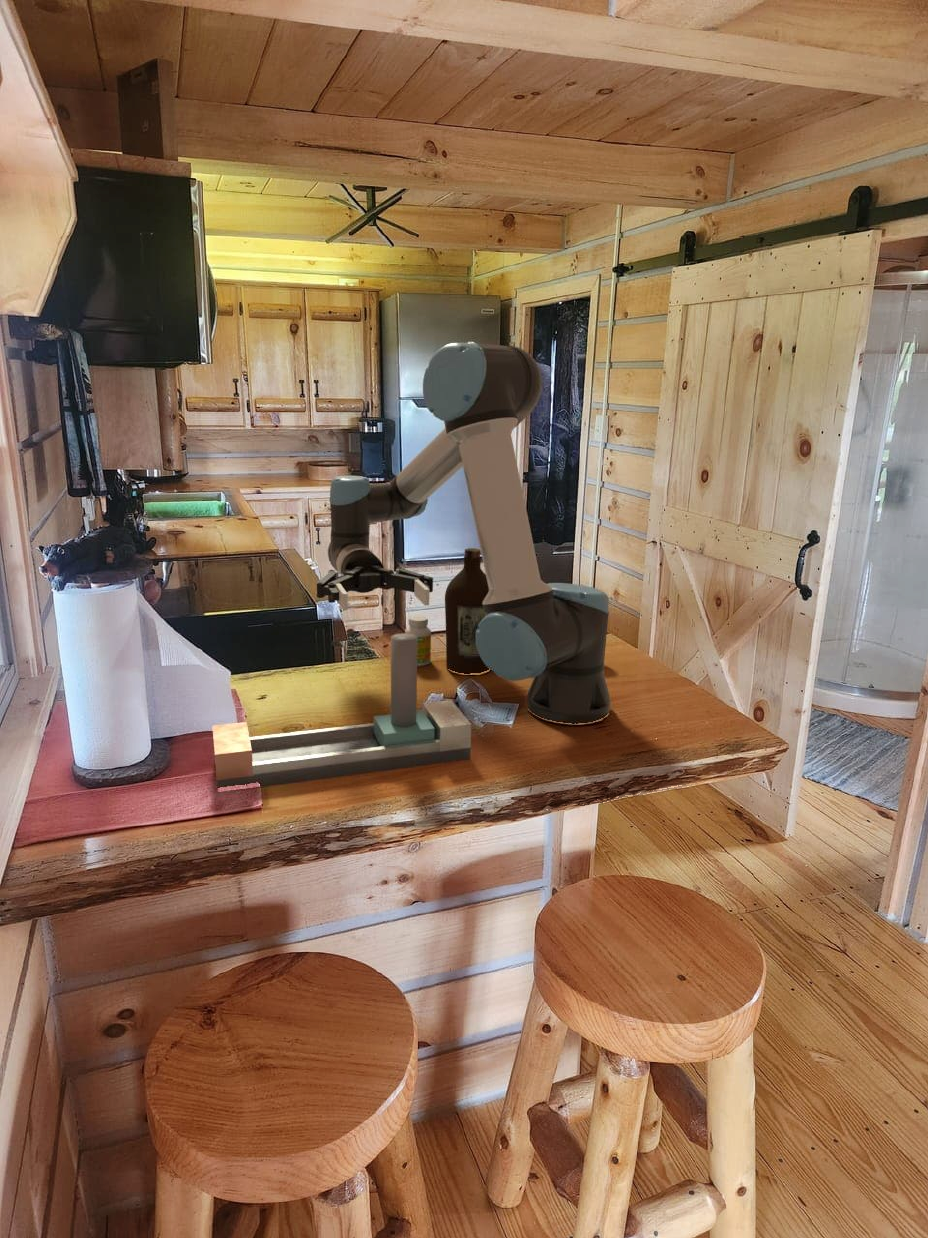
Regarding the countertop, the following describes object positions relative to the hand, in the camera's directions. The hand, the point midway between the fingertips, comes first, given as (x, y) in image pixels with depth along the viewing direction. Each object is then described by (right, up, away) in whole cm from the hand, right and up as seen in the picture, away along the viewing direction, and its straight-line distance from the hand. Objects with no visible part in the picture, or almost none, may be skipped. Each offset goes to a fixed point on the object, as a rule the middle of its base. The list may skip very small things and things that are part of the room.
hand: (387, 599), depth 128 cm
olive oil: (+14, -14, +35) cm, 40 cm away
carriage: (+3, -22, -3) cm, 23 cm away
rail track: (-6, -25, -6) cm, 26 cm away
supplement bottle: (+3, -12, +38) cm, 40 cm away
